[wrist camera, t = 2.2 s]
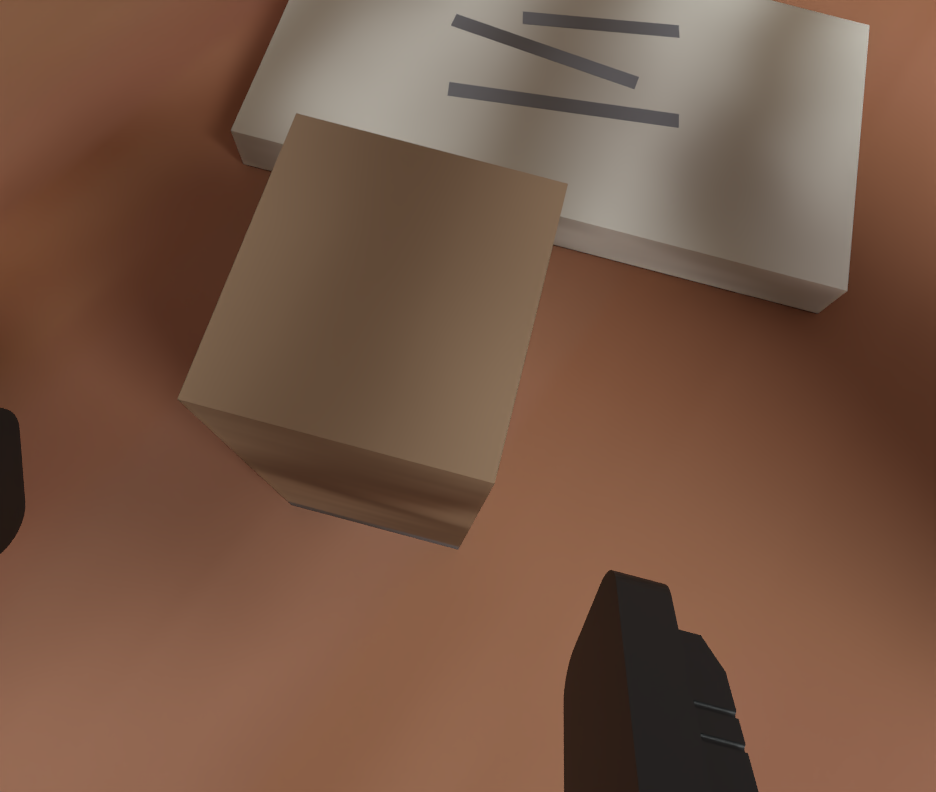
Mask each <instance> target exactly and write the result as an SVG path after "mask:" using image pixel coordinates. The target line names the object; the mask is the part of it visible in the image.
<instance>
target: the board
mask: <svg viewBox="0 0 936 792" xmlns="http://www.w3.org/2000/svg"><path fill="white" fill-rule="evenodd" d="M868 37H869V25H866V24H862V23H858V22H854V21H850V20H846V19H842V18H838V17H834V16H831V15H827V14H823V13H819V12H815V11H811V10H807V9H803V8H799V7H795V6H791V5H787V4H783V3H779V2H775V1H772V0H289V2H288V4H287V6H286V8H285V10H284V13H283V15H282V17H281V19H280V22H279V24H278V26H277V28H276V31H275V33H274V35H273V37H272V39H271V42H270V44H269V46H268V48H267V51H266V53H265V55H264V57H263V60H262V62H261V64H260V66H259V68H258V71H257V73H256V75H255V77H254V80H253V82H252V84H251V86H250V89H249V91H248V93H247V95H246V97H245V100H244V102H243V104H242V106H241V109H240V111H239V113H238V115H237V118H236V120H235V122H234V124H233V126H232V129H231V133H232V135H233V138H234V141H235V143H236V146H237V148H238V151H239V154H240V156H241V159H242V162H243V164H246V165H250V166H254V167H258V168H262V169H265V170H269V171H272V170H273V168H274V165H275V163H276V160H277V158H278V156H279V153H280V151H281V148H282V146H283V144H284V141H285V139H286V136H287V134H288V132H289V129H290V127H291V124H292V122H293V120H294V117H295V115H296V113H298V114H302V115H305V116H309V117H313V118H317V119H321V120H325V121H328V122H332V123H336V124H340V125H344V126H348V127H352V128H355V129H359V130H363V131H367V132H371V133H375V134H379V135H382V136H386V137H390V138H394V139H398V140H402V141H405V142H409V143H413V144H417V145H421V146H425V147H429V148H432V149H436V150H440V151H444V152H448V153H452V154H456V155H459V156H463V157H467V158H471V159H475V160H479V161H483V162H486V163H490V164H494V165H498V166H502V167H506V168H509V169H513V170H517V171H521V172H525V173H529V174H533V175H536V176H540V177H544V178H548V179H552V180H556V181H560V182H563V183H567V184H568V186H567V190H566V194H565V198H564V202H563V207H562V211H561V215H560V219H559V223H558V227H557V231H556V235H555V239H554V243H553V245H557V246H561V247H565V248H569V249H572V250H576V251H580V252H584V253H588V254H592V255H595V256H599V257H603V258H607V259H611V260H615V261H618V262H622V263H626V264H630V265H634V266H638V267H641V268H645V269H649V270H653V271H657V272H661V273H664V274H668V275H672V276H676V277H680V278H684V279H688V280H691V281H695V282H699V283H703V284H707V285H711V286H714V287H718V288H722V289H726V290H730V291H734V292H737V293H741V294H745V295H749V296H753V297H757V298H760V299H764V300H768V301H772V302H776V303H780V304H783V305H787V306H791V307H795V308H799V309H803V310H806V311H810V312H814V313H819V312H821V311H822V310H823V309H825V308H826V307H827V306H828V305H830V304H831V303H832V302H834V301H835V300H836V299H838V298H839V297H840V296H841V295H843V294H844V293H845V292H847V290H848V278H849V266H850V254H851V242H852V230H853V218H854V206H855V193H856V181H857V169H858V157H859V145H860V133H861V121H862V109H863V97H864V85H865V73H866V61H867V49H868Z"/></svg>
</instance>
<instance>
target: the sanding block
mask: <svg viewBox="0 0 936 792" xmlns="http://www.w3.org/2000/svg"><path fill="white" fill-rule="evenodd" d="M567 186H568V184H567V183H563V182H560V181H556V180H552V179H548V178H544V177H540V176H536V175H533V174H529V173H525V172H521V171H517V170H513V169H509V168H506V167H502V166H498V165H494V164H490V163H486V162H483V161H479V160H475V159H471V158H467V157H463V156H459V155H456V154H452V153H448V152H444V151H440V150H436V149H432V148H429V147H425V146H421V145H417V144H413V143H409V142H405V141H402V140H398V139H394V138H390V137H386V136H382V135H379V134H375V133H371V132H367V131H363V130H359V129H355V128H352V127H348V126H344V125H340V124H336V123H332V122H328V121H325V120H321V119H317V118H313V117H309V116H305V115H302V114H298V113H296V115H295V117H294V120H293V122H292V124H291V127H290V129H289V132H288V134H287V136H286V139H285V141H284V144H283V146H282V148H281V151H280V153H279V156H278V158H277V160H276V163H275V165H274V168H273V170H272V172H271V175H270V177H269V180H268V182H267V184H266V187H265V189H264V192H263V194H262V197H261V199H260V201H259V204H258V206H257V209H256V211H255V213H254V216H253V218H252V221H251V223H250V225H249V228H248V230H247V233H246V235H245V237H244V240H243V242H242V245H241V247H240V249H239V252H238V254H237V257H236V259H235V262H234V264H233V266H232V269H231V271H230V274H229V276H228V278H227V281H226V283H225V286H224V288H223V290H222V293H221V295H220V298H219V300H218V302H217V305H216V307H215V310H214V312H213V314H212V317H211V319H210V322H209V324H208V326H207V329H206V331H205V334H204V336H203V339H202V341H201V343H200V346H199V348H198V351H197V353H196V355H195V358H194V360H193V363H192V365H191V367H190V370H189V372H188V375H187V377H186V379H185V382H184V384H183V387H182V389H181V391H180V394H179V396H178V400H179V401H180V402H181V403H182V404H183V405H184V406H185V407H186V408H187V409H189V410H190V411H191V412H192V413H193V414H194V415H195V416H196V417H197V418H198V419H199V420H200V421H202V422H203V423H204V424H205V425H206V426H207V427H208V428H209V429H210V430H211V431H212V432H213V433H214V434H216V435H217V436H218V437H219V438H220V439H221V440H222V441H223V442H224V443H225V444H226V445H227V446H228V447H230V448H231V449H232V450H233V451H234V452H235V453H236V454H237V455H238V456H239V457H240V458H241V459H242V460H244V461H245V462H246V463H247V464H248V465H249V466H250V467H251V468H252V469H253V470H254V471H255V472H257V473H258V474H259V475H260V476H261V477H262V478H263V479H264V480H265V481H266V482H267V483H268V484H269V485H271V486H272V487H273V488H274V489H275V490H276V491H277V492H278V493H279V494H280V495H281V496H282V497H283V498H285V499H286V500H287V501H288V502H289V503H290V504H291V505H294V506H297V507H301V508H305V509H309V510H312V511H316V512H320V513H324V514H327V515H331V516H335V517H339V518H342V519H346V520H350V521H353V522H357V523H361V524H365V525H368V526H372V527H376V528H380V529H383V530H387V531H391V532H395V533H398V534H402V535H406V536H409V537H413V538H417V539H421V540H424V541H428V542H432V543H436V544H439V545H443V546H447V547H451V548H454V549H459V547H460V545H461V543H462V542H463V540H464V538H465V536H466V534H467V533H468V531H469V529H470V527H471V525H472V523H473V522H474V520H475V518H476V516H477V514H478V513H479V511H480V509H481V507H482V505H483V504H484V502H485V500H486V498H487V496H488V494H489V493H490V491H491V489H492V487H493V485H494V484H495V480H496V476H497V471H498V467H499V463H500V459H501V455H502V451H503V447H504V443H505V439H506V435H507V431H508V427H509V423H510V419H511V414H512V410H513V406H514V402H515V398H516V394H517V390H518V386H519V382H520V378H521V374H522V370H523V366H524V361H525V357H526V353H527V349H528V345H529V341H530V337H531V333H532V329H533V325H534V321H535V317H536V313H537V308H538V304H539V300H540V296H541V292H542V288H543V284H544V280H545V276H546V272H547V268H548V264H549V260H550V255H551V251H552V247H553V243H554V239H555V235H556V231H557V227H558V223H559V219H560V215H561V211H562V207H563V202H564V198H565V194H566V190H567Z"/></svg>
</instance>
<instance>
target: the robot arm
mask: <svg viewBox="0 0 936 792" xmlns="http://www.w3.org/2000/svg"><path fill="white" fill-rule="evenodd" d="M24 512H25V494H24V481H23V468H22V455H21V443H20V430H19V423H18V420H17V418H16V416H15V415H14V414H13V413H12V412H11V411H9V410H7V409H3V408H0V554H1V553H2V552H3V551H4V550H5V549H6V548H7V547H8V545H9V544H10V543H11V542H12V540H13V539H14V537H15V536H16V534H17V532H18V530H19V528H20V526H21V523H22V520H23V517H24ZM735 713H736V708H735V705H734V701H733V697H732V694H731V690H730V686H729V683H728V679H727V675H726V672H725V671H724V669H723V668H722V666H721V665H720V663H719V662H718V660H717V659H716V657H715V656H714V654H713V653H712V651H711V650H710V648H709V647H708V646H707V644H706V643H705V641H704V640H703V638H702V637H701V635H697V634H693V633H690V632H686V631H682V630H678V625H677V621H676V616H675V611H674V606H673V602H672V597H671V593H670V590H669V588H668V586H667V585H665V584H662V583H658V582H655V581H651V580H647V579H643V578H639V577H636V576H632V575H628V574H624V573H620V572H617V571H613V570H610V571H608V572H607V573H606V575H605V576H604V578H603V580H602V582H601V584H600V587H599V589H598V592H597V594H596V596H595V599H594V601H593V604H592V606H591V608H590V611H589V613H588V616H587V618H586V621H585V623H584V625H583V628H582V630H581V633H580V635H579V637H578V640H577V642H576V645H575V647H574V650H573V652H572V655H571V658H570V662H569V666H568V670H567V675H566V681H565V689H564V792H758V789H757V785H756V781H755V778H754V774H753V770H752V767H751V763H750V759H749V756H748V753H745V751H744V747H745V741H744V737H743V734H742V730H741V727H740V723H739V719H736V718H735Z"/></svg>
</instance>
